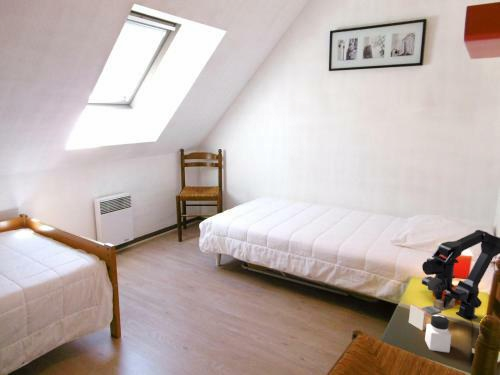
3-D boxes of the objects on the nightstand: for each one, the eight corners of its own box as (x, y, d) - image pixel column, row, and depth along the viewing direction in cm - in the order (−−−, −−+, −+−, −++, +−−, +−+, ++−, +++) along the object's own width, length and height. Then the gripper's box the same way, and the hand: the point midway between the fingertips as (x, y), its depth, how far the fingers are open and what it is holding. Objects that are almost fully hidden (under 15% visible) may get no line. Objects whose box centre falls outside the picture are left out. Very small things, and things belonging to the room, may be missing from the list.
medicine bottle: (449, 353, 138) (453, 323, 136) (429, 350, 139) (432, 320, 137) (443, 342, 145) (447, 314, 143) (424, 339, 146) (427, 311, 144)
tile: (411, 321, 160) (413, 304, 159) (424, 329, 154) (426, 311, 153) (408, 322, 159) (410, 305, 158) (422, 330, 153) (424, 312, 152)
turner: (446, 303, 167) (447, 295, 166) (456, 308, 162) (457, 300, 161) (421, 310, 160) (422, 301, 160) (431, 315, 156) (432, 306, 155)
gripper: (414, 267, 164) (411, 300, 167) (452, 283, 147) (448, 319, 150) (432, 264, 169) (428, 296, 171) (470, 279, 152) (466, 314, 154)
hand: (441, 306), depth 162 cm, fingers closed on turner, 3 cm apart
